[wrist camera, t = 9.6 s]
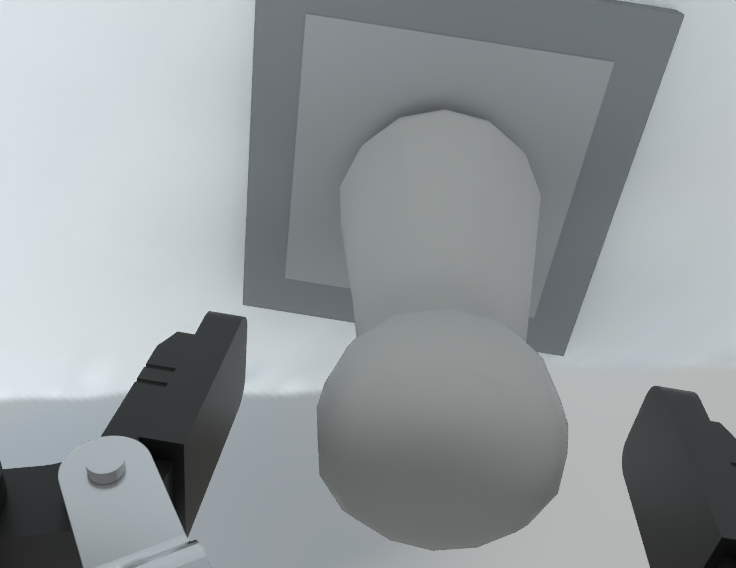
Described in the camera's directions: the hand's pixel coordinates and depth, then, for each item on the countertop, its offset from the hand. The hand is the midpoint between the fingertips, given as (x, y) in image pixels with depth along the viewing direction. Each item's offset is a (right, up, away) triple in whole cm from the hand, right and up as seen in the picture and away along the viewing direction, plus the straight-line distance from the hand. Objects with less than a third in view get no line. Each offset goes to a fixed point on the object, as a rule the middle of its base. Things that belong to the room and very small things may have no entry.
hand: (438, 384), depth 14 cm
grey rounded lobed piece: (+1, +5, +8) cm, 10 cm away
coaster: (+1, +6, +9) cm, 11 cm away
